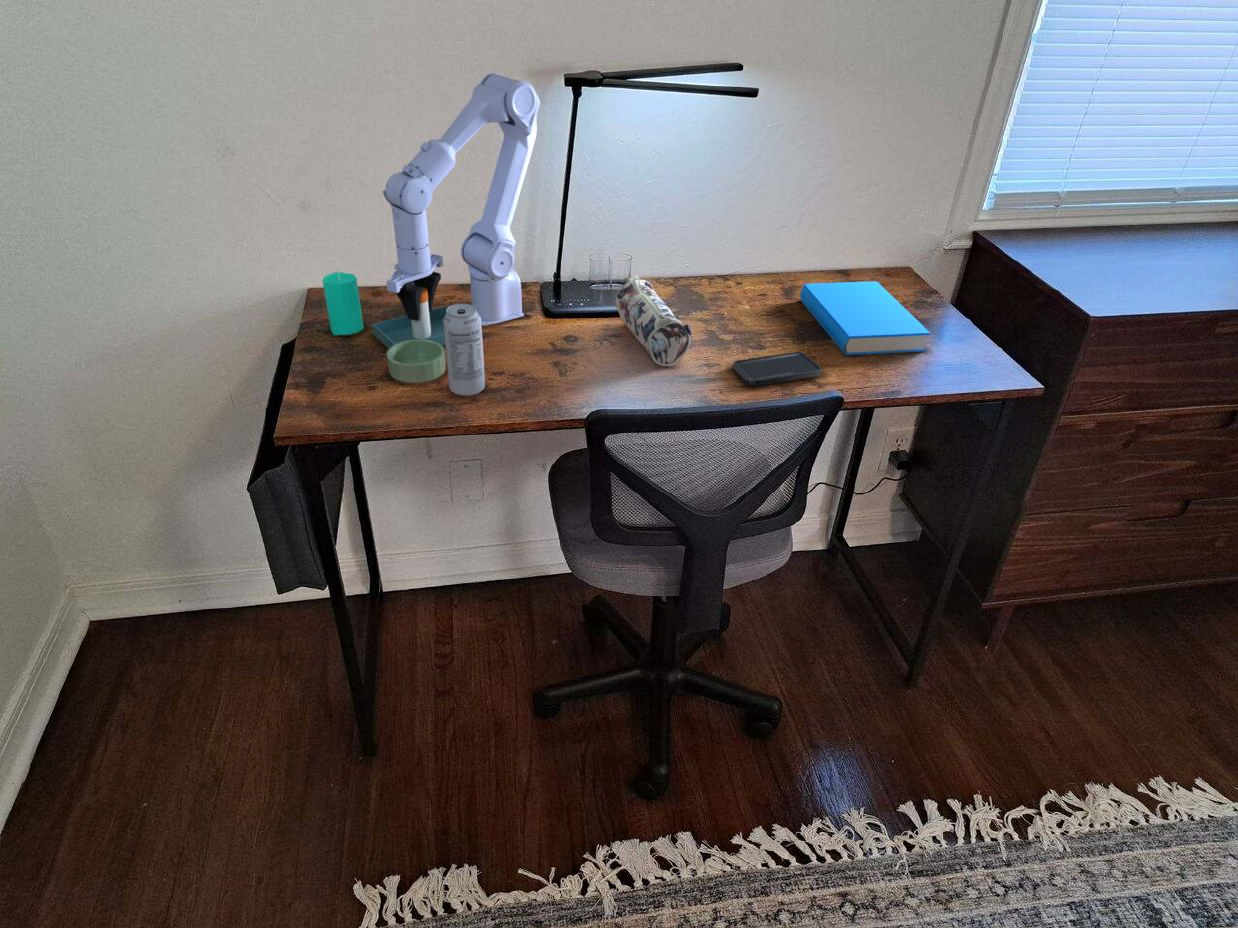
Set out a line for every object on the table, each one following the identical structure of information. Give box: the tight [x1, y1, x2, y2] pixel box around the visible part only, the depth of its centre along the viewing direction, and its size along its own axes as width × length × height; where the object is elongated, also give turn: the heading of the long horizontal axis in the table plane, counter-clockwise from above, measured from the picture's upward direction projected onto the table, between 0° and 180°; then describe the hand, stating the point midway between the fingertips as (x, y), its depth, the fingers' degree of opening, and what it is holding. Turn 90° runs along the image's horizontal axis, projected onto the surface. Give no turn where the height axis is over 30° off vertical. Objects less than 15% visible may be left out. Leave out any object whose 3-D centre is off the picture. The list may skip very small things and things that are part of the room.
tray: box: [371, 304, 450, 349], centre depth 158 cm, size 16×11×2 cm
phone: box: [731, 351, 823, 387], centre depth 152 cm, size 8×1×15 cm
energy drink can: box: [443, 303, 486, 397], centre depth 139 cm, size 6×6×15 cm
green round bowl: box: [386, 339, 447, 384], centre depth 147 cm, size 10×10×4 cm
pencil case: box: [614, 275, 693, 367], centre depth 158 cm, size 22×8×10 cm, turn 18°
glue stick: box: [411, 287, 431, 339], centre depth 156 cm, size 4×4×9 cm
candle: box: [322, 269, 365, 336], centre depth 157 cm, size 6×6×12 cm
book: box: [799, 280, 931, 356], centre depth 169 cm, size 17×4×25 cm
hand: (420, 315), depth 156 cm, fingers closed on glue stick, 3 cm apart
